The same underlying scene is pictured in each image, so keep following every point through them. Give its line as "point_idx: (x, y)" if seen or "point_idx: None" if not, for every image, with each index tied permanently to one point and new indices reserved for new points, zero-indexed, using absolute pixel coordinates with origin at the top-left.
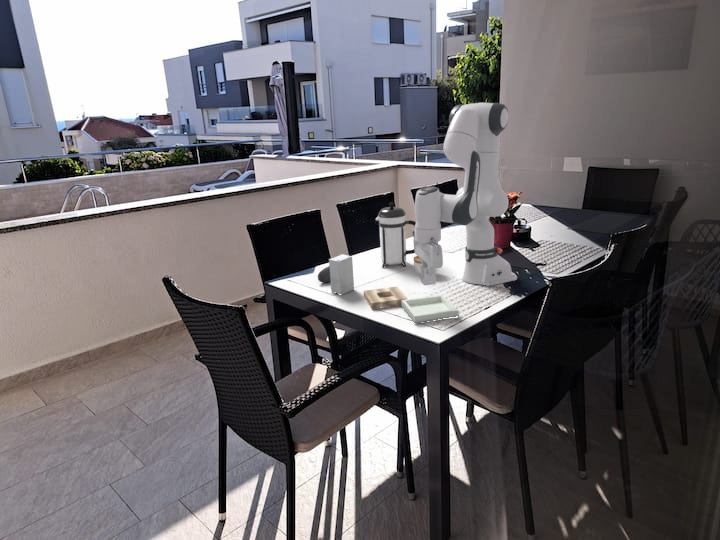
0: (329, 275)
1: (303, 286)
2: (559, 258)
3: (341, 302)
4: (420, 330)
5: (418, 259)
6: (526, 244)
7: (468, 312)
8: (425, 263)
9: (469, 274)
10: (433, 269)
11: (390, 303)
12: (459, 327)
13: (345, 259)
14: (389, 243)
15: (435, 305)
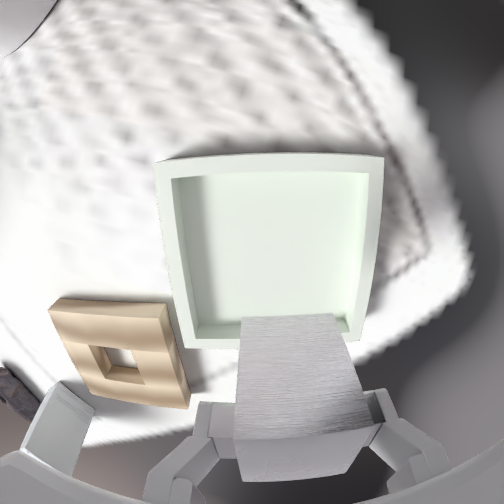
0: (30, 407)
1: None
2: None
3: (137, 422)
4: (395, 313)
5: None
6: None
7: (323, 87)
8: (197, 466)
9: (9, 27)
10: (415, 435)
11: (175, 362)
12: (433, 189)
13: (47, 462)
14: None
15: (227, 212)
